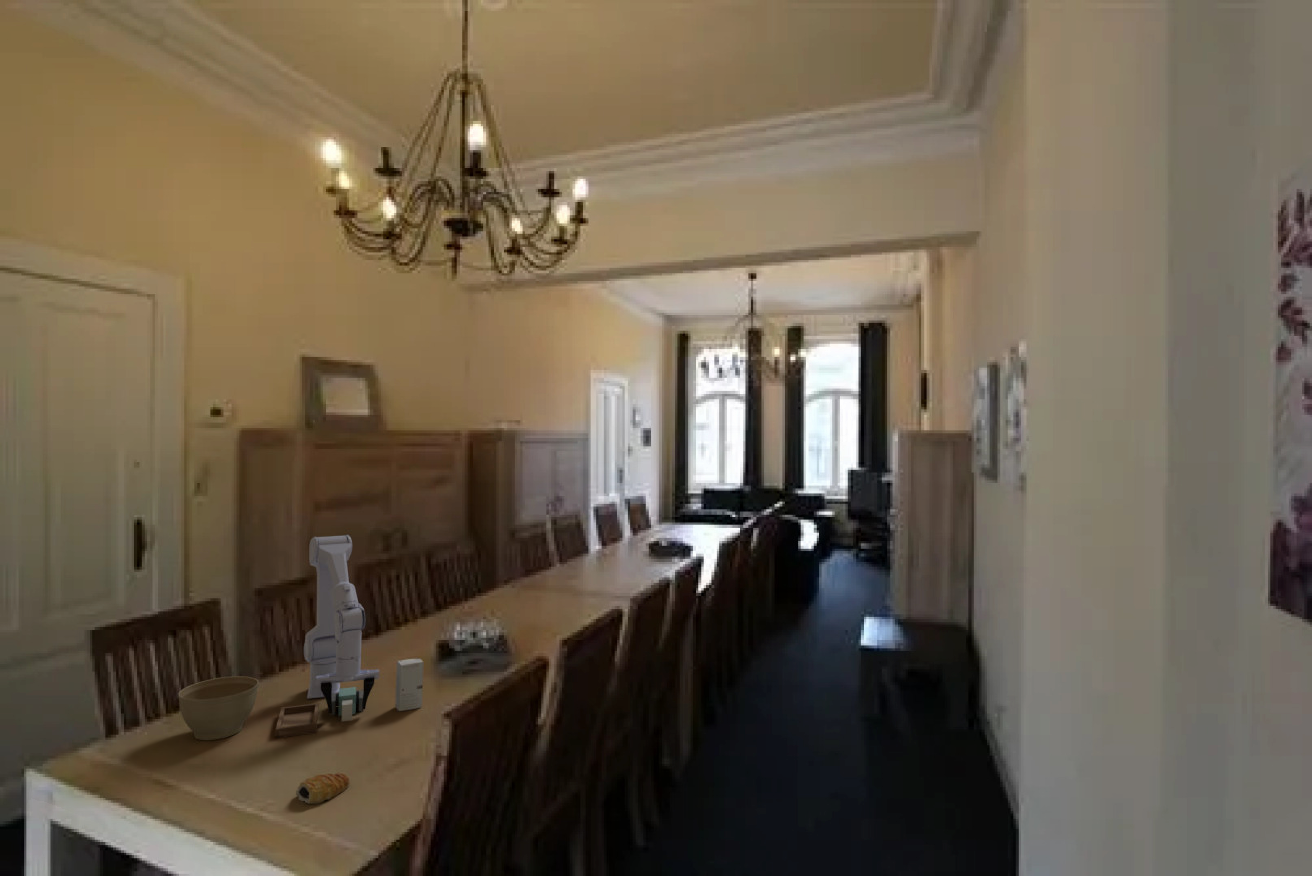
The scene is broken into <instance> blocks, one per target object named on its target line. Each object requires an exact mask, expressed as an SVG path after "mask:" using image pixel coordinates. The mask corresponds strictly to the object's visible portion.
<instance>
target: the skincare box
mask: <svg viewBox="0 0 1312 876" xmlns="http://www.w3.org/2000/svg"><path fill="white" fill-rule="evenodd" d="M424 665H425V664H424V661H423V660H422V659H421V658H419V657H418V658H411V659H410V658H409V659H403V660H397V661H396V677H395V678H396V679H395V704H394V707H395V708H396V710H397V711H398V712H404V711H409V710H414V709H416V710H417V709H420V708H422V706H423V703H422V702H423V686H424V685H423V682H424V681H423V680H424Z"/></svg>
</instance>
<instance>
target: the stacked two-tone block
mask: <svg viewBox="0 0 1312 876" xmlns="http://www.w3.org/2000/svg"><path fill="white" fill-rule="evenodd" d="M356 690H357V686H352V687H343V688H340V689H339V707H338V713H337V714H338V715H337V716H338V717H341V722H349V721H353V715H355V714H356V708H357V707H356V706H357V705H356ZM341 715H342V716H341Z"/></svg>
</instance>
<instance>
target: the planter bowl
mask: <svg viewBox="0 0 1312 876" xmlns="http://www.w3.org/2000/svg"><path fill="white" fill-rule="evenodd" d="M258 688H259V680H258V679H257V678H254V677H251V676H241V675H239V676H238V675H237V676H223V677H217V678H211V679H207V680H204V681H200V682H197V683H193V684H191V685H188V686H186V687H184V688H182V689H181V690H180V691H179V692H178V699H179V708H180V714H181V716H182V719H183V721H184V722H185V724H186V725H187V727H188V728H189V729H190V730H191V731H192V732H193V734H194V738H195V739H197V740H201V741H212V740H213V741H214V740H220V739H225V738H227V737H231V736H233V735H235V734H237V733H239V732H240V731H241V730H242V729H243V724H244V723H245V721H246V720H247V719H248V717H250V714H251V713H252V711H253V709H254V706H255V703H256V701H257V696H258V695H257V694H258Z"/></svg>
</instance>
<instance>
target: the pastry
mask: <svg viewBox="0 0 1312 876" xmlns="http://www.w3.org/2000/svg"><path fill="white" fill-rule="evenodd" d="M349 786H350V778H349V777H348V776H347V775H346V774H345V773H339V772H337V773H335V774H333V773H327V774H317V775H315V776H314V777H308V778H306V779H305V780H304V781H301V782H300V784H299V785H298V786H297V789H296V791H295V795H296V796H297V798H298V797H299V798H298V800H299V801H300V800H301V801H300V802H303V801H305V802H304V803H306V804H308V805H318V804H321V803H323V802H324V801H326V800H328V801H329V800H330V799H333V798H334V797H337V796H338V795H340V794H342V793H343V792H345V791H346V790H347V788H349ZM339 793H340V794H339ZM332 797H333V798H332Z"/></svg>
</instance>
